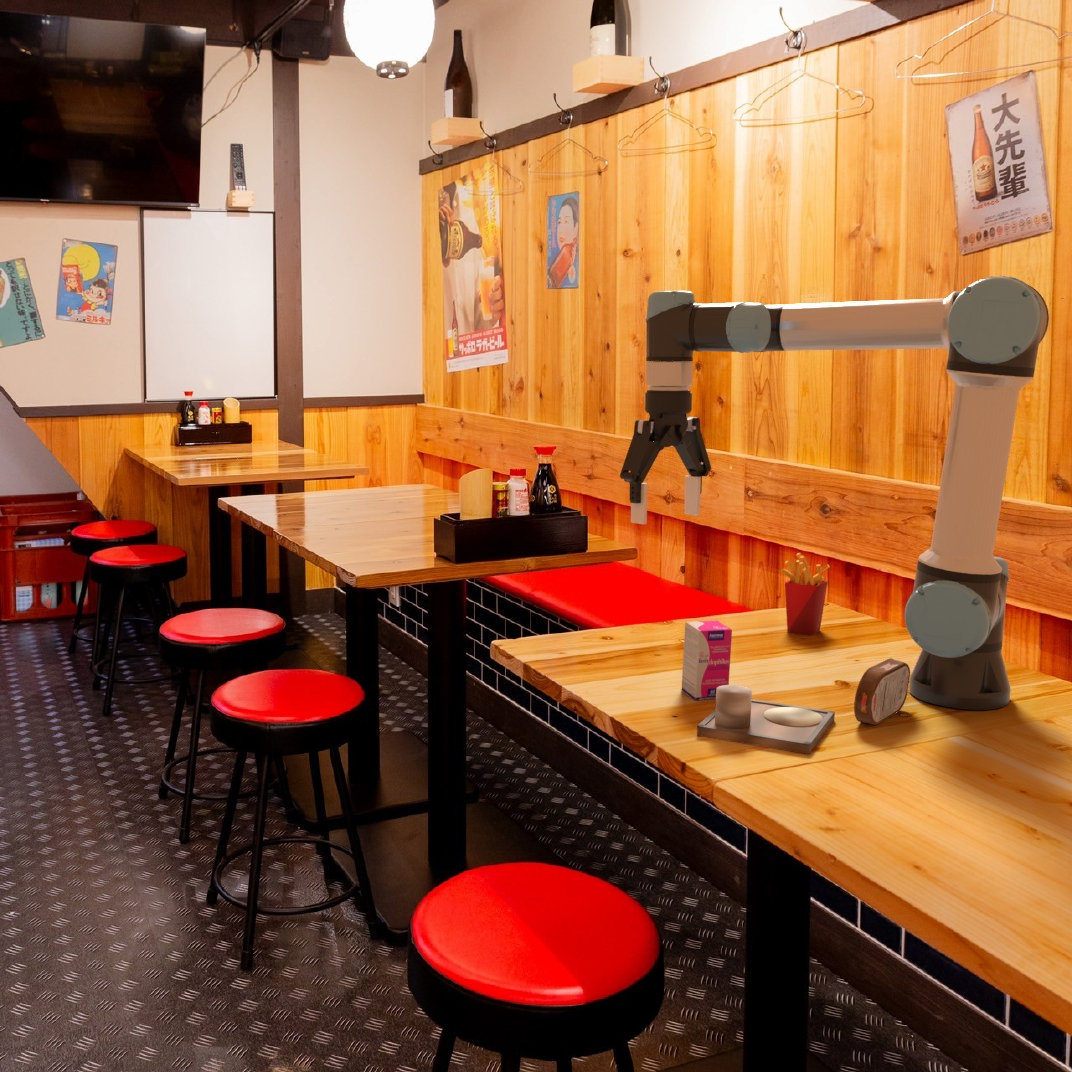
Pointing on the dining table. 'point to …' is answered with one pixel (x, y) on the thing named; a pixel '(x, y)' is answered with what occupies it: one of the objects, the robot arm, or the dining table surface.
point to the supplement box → (705, 658)
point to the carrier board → (764, 721)
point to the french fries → (804, 596)
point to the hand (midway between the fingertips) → (666, 519)
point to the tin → (881, 691)
